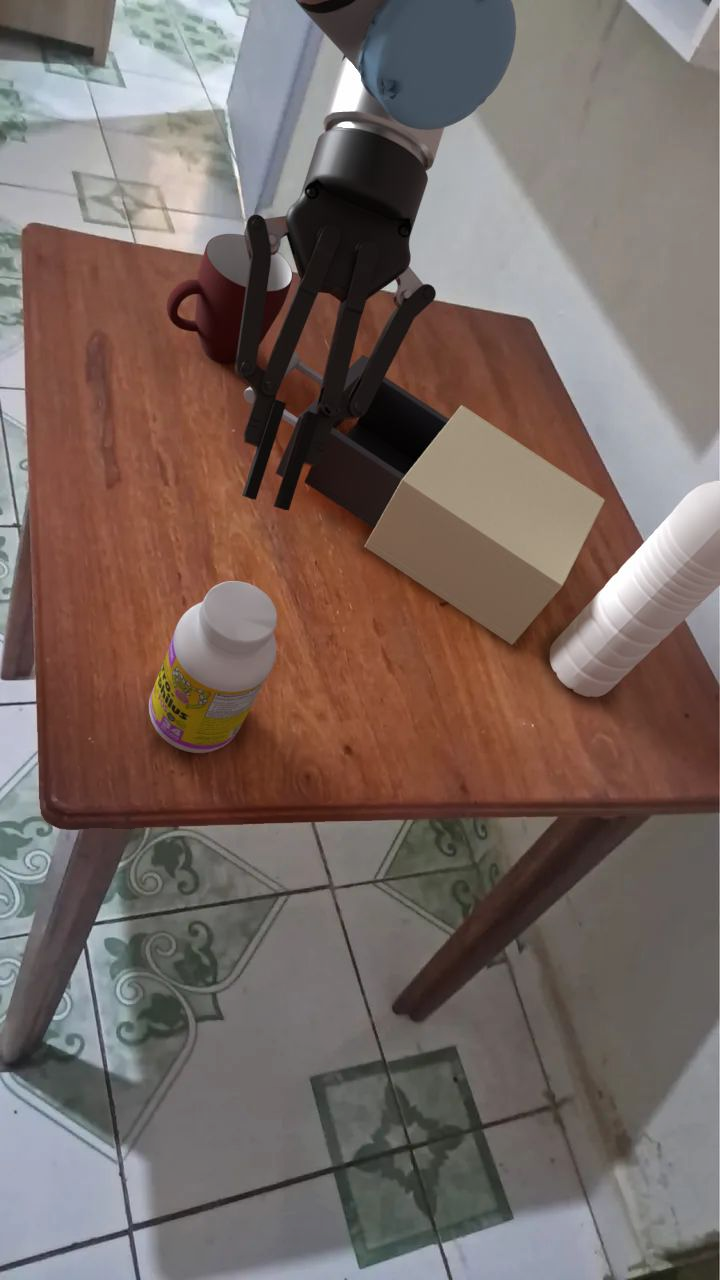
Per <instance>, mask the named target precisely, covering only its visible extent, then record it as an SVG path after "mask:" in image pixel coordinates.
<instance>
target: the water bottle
mask: <svg viewBox="0 0 720 1280" xmlns="http://www.w3.org/2000/svg"><path fill="white" fill-rule="evenodd" d="M719 587H720V479H718V480H713V481H708V482H705V483H702V484H700V485H698V486H696V487H694V488H693V489H692V490H690V491H689V492H688V493H687V494H686V495H684V497H683V498H682V499H681V500H680V502H679V503H678V504H677V505H676V506H675V508H673V510H672V511H671V512H670V513H669V515H667V517H666V518H665V520H663V521H662V522H661V523H660V524H659V526H658V527H656V529H655V530H654V531H653V532H652V534H650V536H649V537H648V538H647V539H646V540H645V541H644V542H643V543H642V544H641V546H639V548H637V550H636V551H635V552H634V554H632V555H631V556H630V557H629V558H628V559H627V560H626V561H625V563H623V564H622V566H621V567H620V568H619V570H618V571H617V573H615V574H614V575H613V576H612V577H611V578H610V579H609V580H608V581H607V582H606V584H605V585H604V587H602V588H601V589H600V590H599V591H598V592H597V593H596V594H595V596H594V597H593V598H592V599H591V601H590V602H589V603H588V604H587V605H585V607H584V608H583V609H582V610H581V612H580V613H579V614H578V615H577V616H575V618H574V619H573V620H572V621H571V622H570V623H569V625H568V626H567V627H566V628H565V629H564V630H563V631H562V632H561V633H560V634H559V635H558V636H557V638H556V639H555V640H554V641H553V642H552V644H551V646H550V649H549V663H550V667H551V669H552V670H553V672H554V673H556V677H557V678H558V680H559V681H560V682H561V683H562V684H563V686H565V687H566V688H568V689H570V690H572V691H573V692H574V693H575V694H578V695H580V696H583V697H587V698H588V697H589V698H590V697H592V698H599V697H603V696H604V695H606V694H607V693H609V692H610V691H611V690H612V689H614V688H615V687H616V685H617V684H619V682H621V681H622V679H623V678H624V677H626V676H627V675H628V674H629V673H630V672H631V671H633V669H634V668H635V667H636V666H637V665H638V664H639V663H641V661H643V660H644V659H645V658H646V657H647V656H648V655H649V654H650V653H651V651H652V650H654V649H655V648H656V647H657V646H658V645H660V644H661V642H662V641H663V640H664V639H665V638H667V637H668V636H669V635H670V634H671V633H673V631H674V630H675V629H676V628H677V626H679V625H680V624H682V623H683V622H684V621H685V620H686V619H687V618H688V617H689V615H691V614H692V613H693V612H694V611H695V609H696V608H698V607H699V606H700V605H701V604H702V603H703V602H704V601H705V600H707V598H708V597H709V596H710V595H712V594H713V593H714V592H715V591H716V589H718V588H719Z"/></svg>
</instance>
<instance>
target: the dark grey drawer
mask: <svg viewBox="0 0 720 1280" xmlns="http://www.w3.org/2000/svg"><path fill="white" fill-rule="evenodd" d="M368 359H369V356H368V357H367V356H366V355H365V354H362V355H361V356H360V357H358V358H357V360H356V361H355V362H353V363H352V364H351V365H350V366H349V370H348V374H347V378H346V382H345V387H344V391H343V395H342V399H348V398H349V396H350V394H351V392H352V390H353V388H354V386H355V384H356V382H357V380H358V378H359V376H360V374H361V372H362V370H363V368H364V366H365V364H366V363H367V361H368ZM295 369H296V370H297V371H299V372H301V373H302V374H303V375H305V376H306V377H307V378H309V379H311V380H312V381H314V382H315V383H316V384H318V385H320V386H321V384H322V380H323V376H324V375H322V374H321V373H319V372H318V371H316V370H315V369H313V368H311V367H310V366H308V365H307V364H306V363H304V362H303V361H302V359H301V355H299V353H297V352H296V351H294V353H293V356H292V358H291V361H290V363H289V366H288V368H287V371H286V373H285V376H284V378H283V380H284V379H285V378H286V377H287V376H288V375H290V374H291V372H293V371H294V370H295ZM243 396H244V399H245V401H246V402H247V403H249V404H252V405H253V402H254V398H255V395H254V391H253V390H252V388H251V387H250V386H248V387H247V388H246V389H244V392H243ZM317 402H318V398H316V399H315V400H314V401H313V402H312V403H311V404H310V405H309V406H308V407H307V408H306V409H305V410H304V411H303V412H302V413H301V414H300V415H298V417H296V416H295V415H294V414H293V413H291V412H289V411H288V410H287V409H284V412H283V415H282V419H281V420H283V421H285V422H286V423H288V424H289V425H290V426H292V427H293V430H292V432H291V435H290V437H289V440H288V442H287V445H286V447H285V449H284V451H283V454H282V457H281V459H280V461H279V464H278V466H277V469H276V471H275V474H276V475H277V476H279V477H281V478H283V475H284V472H285V469H286V466H287V462H288V459H289V456H290V453H291V450H292V447H293V444H294V440H295V437H296V434H297V431H298V428H299V425H300V421H301V418H302V415H303V414H304V413H306V412H307V411H310V412H313V413H315V412H316V406H317ZM450 419H451V418H448V417H447V416H446V415H443V414H442V413H441V412H439V410H436V409H435V408H433V407H432V406H430V405H428V404H427V403H425V402H424V401H422V400H421V399H419V398H418V397H416V396H415V395H413V394H412V393H411V392H409V391H407V390H406V389H405V388H403V387H401V386H400V385H398V384H396V383H395V382H394V381H392V380H391V379H390V378H387V377H386V376H385V377H384V379H383V381H382V383H381V385H380V387H379V389H378V391H377V393H376V395H375V397H374V399H373V401H372V402H371V404H370V406H369V408H368V410H367V412H366V414H365V415H363V416H362V417H359V418H357V421H356V423H355V424H354V425H353V426H352V427H351V428H350V429H349V430H348V432H347V433H346V434H344V433H342V432H341V431H339V430H337V429H338V428H339V426H341V424H342V423H344V422H345V420H346V419H339V420H337V421H335V423H334V424H333V427H332V430H331V433H330V436H329V439H328V442H327V445H326V449H325V452H324V455H323V458H322V460H321V462H320V463H319V464H318V465H317V466H315V467H313V466H310V469H309V470H308V473H307V475H306V477H305V479H304V484H306V485H307V486H309V487H310V488H312V489H313V490H315V491H316V492H318V493H319V494H321V495H322V496H324V497H326V498H327V499H328V500H329V501H331V502H333V503H334V504H336V505H337V506H339V507H340V508H341V509H344V510H345V511H346V512H347V513H349V514H350V515H352V516H354V517H355V518H357V519H358V520H359V521H361V522H362V523H364V524H365V525H367V526H369V527H370V528H372V529H374V528H375V527H376V525H377V523H378V521H379V520H380V518H381V516H382V514H383V512H384V511H385V509H386V507H387V505H388V504H389V502H390V500H391V498H392V496H393V495H394V493H395V491H396V489H397V488H398V486H399V484H400V482H401V481H402V479H403V478H404V477H405V475H406V474H407V473H408V471H409V470H410V469H411V468H412V466H413V465H414V464H415V463H416V461H417V460H418V459H419V458H420V456H421V455H422V454H423V453H424V451H425V450H426V449H427V448H428V446H429V445H430V444H431V443H432V441H433V440H434V439H435V438H436V436H437V435H438V434H439V433H440V431H441V430H442V429H443V428H444V426H445V425H446V424H447V422H448V421H449V420H450Z"/></svg>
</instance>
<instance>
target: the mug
mask: <svg viewBox="0 0 720 1280" xmlns="http://www.w3.org/2000/svg"><path fill="white" fill-rule="evenodd" d="M249 264H250V262H249V257H248V252H247V247H246V242H245V237H244V234H238V233H223V234H219V235H216V236H214V237H212V238H211V239H210V240H208V242H207V243H206V246H205V248H204V252H203V255H202V258H201V261H200V264H199V265H200V266H199V270H198V275H197V279H187V280H184V281H181V282H180V283H178V284H177V285H176V286H175V287H174V288H173V289H172V290H171V291H170V292H169V295H168V296H167V301H166V314H167V317H168V319H169V320H170V322H171V323H172V324H173V325H174V326H175V327H177V328H179V329H180V330H183V331H187V332H192V333H194V332H195V333H197V336H198V339H199V342H200V346H201V348H202V350H203V352H204V354H205V355H206V356H207V357H208V358H210V359H211V360H212V361H214V362H217V363H219V364H224V365H235V364H236V356H237V349H238V342H239V335H240V328H241V321H242V314H243V306H244V299H245V292H246V285H247V278H248V271H249ZM291 267H292V266H291V265H290V264H289V262H288V260H287V259H286V257H284V256H283V255H282V254H281V253H280V251H278V252H277V253H276V254H275V255H272V256H271V265H270V272H269V279H268V286H267V293H266V300H265V307H264V314H263V321H262V328H261V335H260V342H259V346H260V345H261V344H262V342H263V341H264V339H265V337H266V336H267V334H268V333H269V330H270V329H271V328H272V326H273V324H274V323H275V321H276V320H277V317H278V316H279V314H280V312H281V311H282V309H283V306H284V305H285V303H286V300H287V296H288V294H289V291H290V288H291V285H292V281H293V277H294V275H293V269H292V268H291ZM193 295H196V302H195V303H196V304H195V313H194V314H195V316H194V320H190V319H187V318H183V317H181V316H180V315H179V313H178V312H179V311H178V310H179V308H180V305H181V303H182V302H183V301H184V300H185V299H186V298H188V297H190V296H193Z"/></svg>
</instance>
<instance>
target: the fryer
mask: <svg viewBox="0 0 720 1280" xmlns="http://www.w3.org/2000/svg"><path fill="white" fill-rule="evenodd" d="M449 419H450V420H449V421H448V422H447V424H446V425H445V426H444V428H443V429H442V430H441V431H440V433H439V434H438V435H437V436H436V438H435V439H434V440H433V441H432V443H431V444H430V445H429V446H428V448H427V449H426V450H425V451H424V453H423V454H422V455H421V456H420V458H419V459H418V460H417V461H416V463H415V464H414V465H413V466H412V468H411V469H410V470H409V471H408V473H407V474H406V475H405V477H404V478H403V479H402V481H401V482H400V484H399V486H398V488H397V489H396V491H395V493H394V495H393V496H392V498H391V500H390V502H389V504H388V505H387V507H386V509H385V511H384V512H383V514H382V516H381V518H380V520H379V521H378V523H377V525H376V527H375V528H373V530H372V531H371V534H370V535H369V537H368V539H367V540H366V543H365V544H364V548H365V549H367V550H369V551H370V552H372V553H373V554H375V555H376V556H378V557H379V558H380V559H382V560H383V561H385V562H386V563H388V564H389V565H391V566H393V567H394V568H395V569H397V570H399V572H401V573H403V574H405V575H406V576H407V577H409V578H411V579H412V580H414V581H415V582H416V583H418V584H419V585H421V586H423V587H424V588H425V589H427V590H428V591H431V593H433V594H434V595H435V596H438V597H439V598H440V599H442V600H444V601H445V602H447V603H448V604H449V605H451V606H453V607H454V608H456V609H457V610H459V612H462V613H463V614H464V615H466V616H467V617H469V618H471V619H472V620H474V621H475V622H477V623H478V624H480V625H481V626H483V627H484V628H486V629H487V630H489V632H491V633H493V634H495V636H498V637H499V638H500V639H502V640H504V641H505V642H507V643H508V644H510V645H511V646H512V645H514V644H515V643H516V642H517V640H518V639H519V638H520V637H521V635H522V634H523V633H524V632H525V631H526V630H527V629H528V627H529V626H530V625H531V624H532V623H533V621H534V620H535V619H536V618H537V617H538V615H539V614H540V613H541V612H542V611H543V610H544V609H545V608H546V606H547V605H548V604H549V603H550V601H551V600H552V599H553V598H554V597H555V595H556V594H557V593H558V592H559V591H560V590H561V588H562V587H563V586H564V584H565V582H566V580H567V578H568V576H569V574H570V572H571V570H572V568H573V566H574V564H575V562H576V559H577V558H578V555H579V554H580V552H581V550H582V548H583V546H584V543H585V542H586V540H587V538H588V536H589V534H590V531H591V530H592V527H593V526H594V524H595V522H596V519H597V518H598V515H599V514H600V511H601V509H602V507H603V505H604V503H605V502H606V499H605V498H603V497H602V496H601V495H599V494H598V493H596V492H595V491H593V490H592V489H590V488H588V487H587V486H585V485H584V484H582V483H581V482H579V481H577V480H576V479H575V478H573V477H572V476H570V475H569V474H567V473H566V472H565V471H563V470H561V469H560V468H558V467H556V466H555V465H554V464H552V463H551V462H549V461H548V460H546V459H544V457H542V456H540V455H538V454H537V453H536V452H533V450H531V449H529V448H528V447H526V446H525V445H523V444H522V443H521V442H519V441H517V440H515V439H514V438H513V437H511V436H509V435H508V434H507V433H505V432H504V431H502V430H500V429H499V428H498V427H496V426H495V425H493V424H491V423H490V422H488V421H487V420H485V419H483V418H482V417H481V416H479V415H478V414H476V413H475V412H473V411H472V410H471V409H468V408H467V407H466V406H464V405H463V404H461V405H460V406H459V407H458V408H457V410H456V411H455V412H454V413H453V415H452V416H451V418H449Z"/></svg>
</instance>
